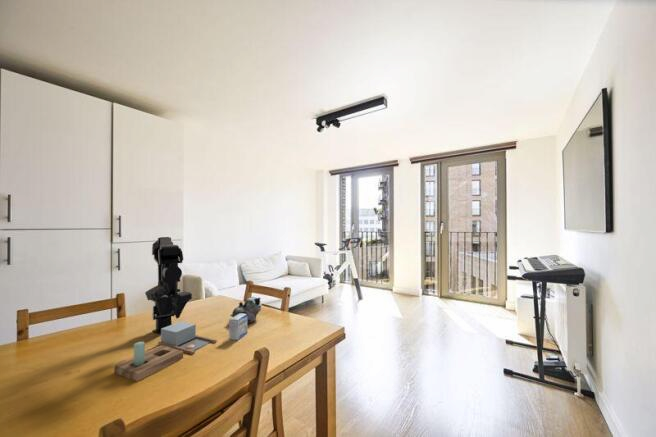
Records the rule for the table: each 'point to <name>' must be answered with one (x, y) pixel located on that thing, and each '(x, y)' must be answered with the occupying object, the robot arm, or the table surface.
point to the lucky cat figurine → (249, 309)
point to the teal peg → (139, 354)
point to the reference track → (191, 344)
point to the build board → (149, 363)
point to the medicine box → (238, 326)
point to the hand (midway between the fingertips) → (169, 316)
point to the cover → (178, 333)
